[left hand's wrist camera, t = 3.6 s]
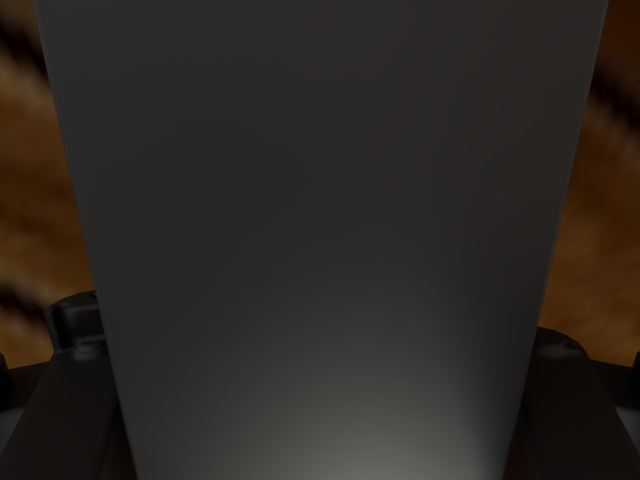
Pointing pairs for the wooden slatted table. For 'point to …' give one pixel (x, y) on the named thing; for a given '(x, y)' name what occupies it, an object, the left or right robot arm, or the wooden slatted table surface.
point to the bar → (320, 222)
